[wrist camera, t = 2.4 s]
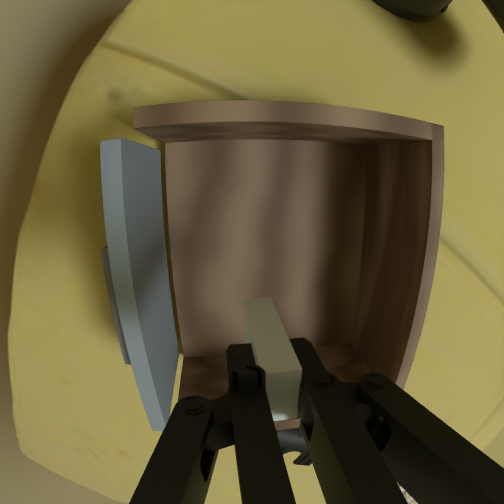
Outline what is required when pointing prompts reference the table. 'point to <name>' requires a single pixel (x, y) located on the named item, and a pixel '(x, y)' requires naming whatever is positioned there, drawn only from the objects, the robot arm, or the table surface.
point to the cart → (299, 230)
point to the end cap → (294, 445)
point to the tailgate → (139, 271)
